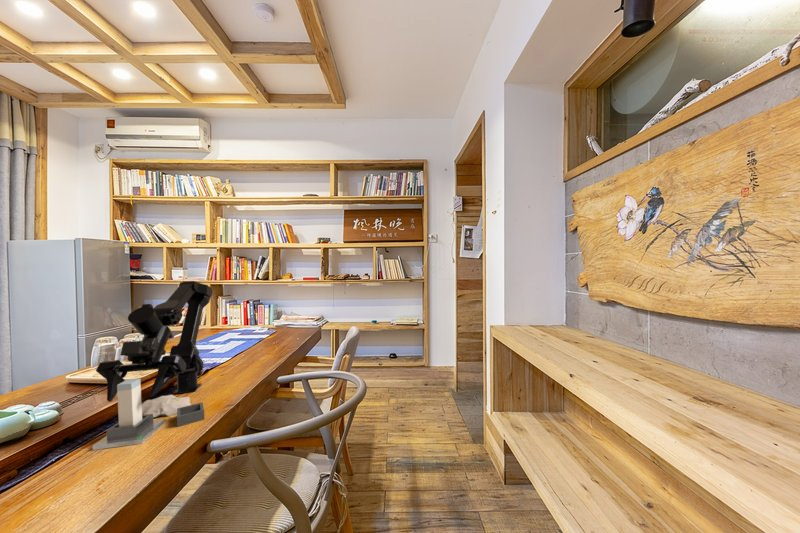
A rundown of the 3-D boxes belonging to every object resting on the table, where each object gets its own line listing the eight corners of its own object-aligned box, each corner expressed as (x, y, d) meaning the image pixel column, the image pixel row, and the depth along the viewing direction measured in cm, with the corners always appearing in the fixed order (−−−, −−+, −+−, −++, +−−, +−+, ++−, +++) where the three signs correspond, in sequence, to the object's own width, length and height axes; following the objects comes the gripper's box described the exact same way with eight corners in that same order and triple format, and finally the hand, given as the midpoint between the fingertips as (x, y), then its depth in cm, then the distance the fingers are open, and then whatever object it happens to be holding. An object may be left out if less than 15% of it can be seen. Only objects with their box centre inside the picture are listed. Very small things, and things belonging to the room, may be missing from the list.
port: (122, 428, 82) (121, 415, 82) (165, 422, 83) (164, 409, 83) (92, 450, 72) (91, 435, 72) (142, 443, 74) (141, 428, 74)
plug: (129, 428, 79) (126, 379, 79) (142, 427, 80) (140, 378, 80) (119, 436, 76) (117, 384, 76) (133, 434, 76) (131, 383, 76)
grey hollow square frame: (177, 417, 86) (177, 408, 86) (202, 410, 90) (202, 402, 90) (177, 426, 81) (176, 417, 81) (204, 419, 84) (204, 410, 84)
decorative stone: (124, 422, 86) (180, 424, 86) (123, 410, 85) (179, 411, 86) (153, 400, 96) (202, 402, 97) (152, 389, 96) (202, 390, 97)
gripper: (99, 331, 81) (65, 389, 70) (179, 325, 85) (158, 379, 74) (121, 352, 89) (93, 408, 78) (193, 346, 93) (176, 398, 82)
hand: (130, 398), depth 78 cm, fingers open, 9 cm apart
